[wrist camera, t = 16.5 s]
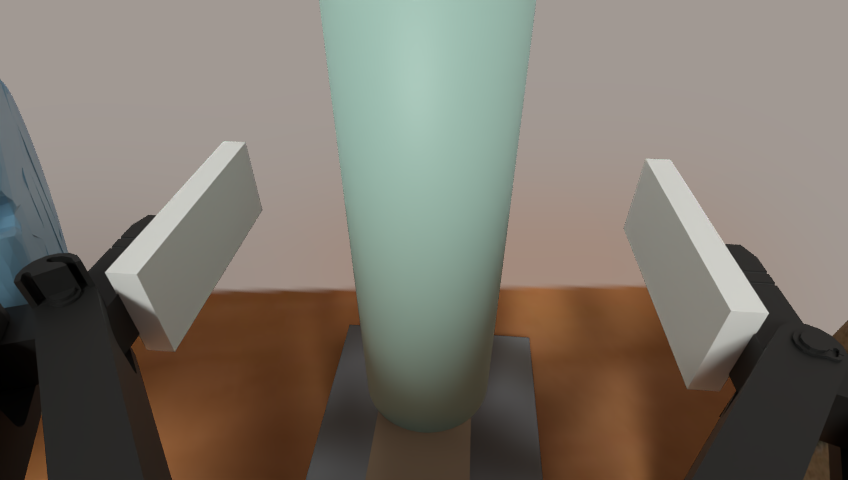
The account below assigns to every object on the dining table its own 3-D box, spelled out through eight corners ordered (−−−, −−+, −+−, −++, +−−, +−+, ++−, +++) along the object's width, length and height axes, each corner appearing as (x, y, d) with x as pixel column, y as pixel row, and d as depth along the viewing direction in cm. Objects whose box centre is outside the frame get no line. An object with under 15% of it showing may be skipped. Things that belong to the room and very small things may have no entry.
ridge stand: (552, 655, 20) (591, 597, 16) (274, 622, 21) (233, 557, 17) (526, 352, 33) (543, 269, 28) (351, 339, 34) (340, 256, 29)
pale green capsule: (349, 415, 21) (259, -91, 10) (390, 322, 25) (359, -106, 14) (475, 447, 20) (537, -85, 9) (496, 344, 24) (556, -104, 13)
